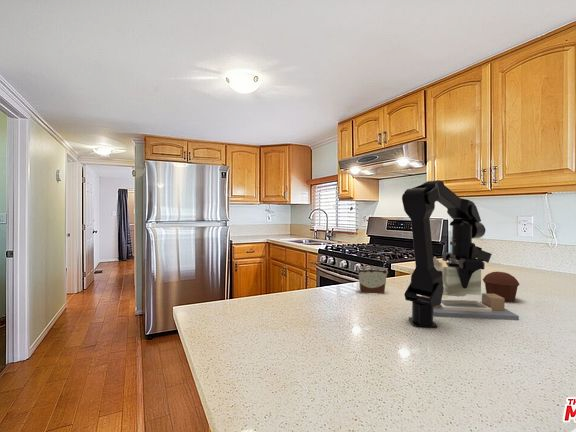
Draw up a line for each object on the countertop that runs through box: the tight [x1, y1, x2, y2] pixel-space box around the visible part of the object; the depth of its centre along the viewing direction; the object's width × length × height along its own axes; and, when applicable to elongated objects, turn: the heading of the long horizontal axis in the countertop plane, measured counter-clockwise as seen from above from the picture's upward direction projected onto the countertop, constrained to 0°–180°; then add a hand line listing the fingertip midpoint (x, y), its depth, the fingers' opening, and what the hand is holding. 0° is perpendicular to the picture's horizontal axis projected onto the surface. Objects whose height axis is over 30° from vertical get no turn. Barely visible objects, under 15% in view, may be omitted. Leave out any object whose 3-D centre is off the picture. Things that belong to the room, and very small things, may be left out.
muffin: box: [482, 271, 520, 303], centre depth 119 cm, size 12×11×10 cm
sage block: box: [442, 266, 482, 296], centre depth 105 cm, size 5×10×8 cm, turn 83°
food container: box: [356, 265, 389, 295], centre depth 129 cm, size 12×6×10 cm, turn 84°
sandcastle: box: [433, 256, 466, 297], centre depth 132 cm, size 16×16×15 cm
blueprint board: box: [421, 292, 520, 321], centre depth 105 cm, size 15×27×5 cm, turn 83°
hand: (461, 286), depth 105 cm, fingers closed on sage block, 5 cm apart
